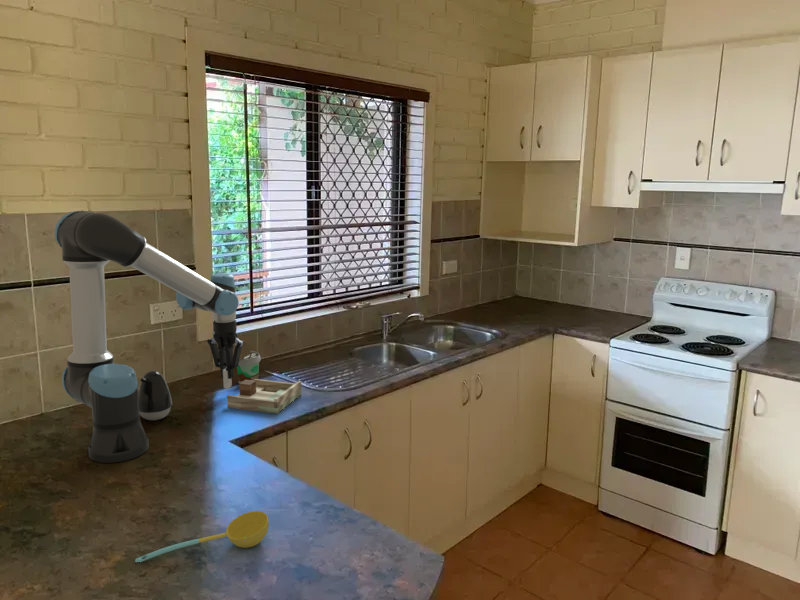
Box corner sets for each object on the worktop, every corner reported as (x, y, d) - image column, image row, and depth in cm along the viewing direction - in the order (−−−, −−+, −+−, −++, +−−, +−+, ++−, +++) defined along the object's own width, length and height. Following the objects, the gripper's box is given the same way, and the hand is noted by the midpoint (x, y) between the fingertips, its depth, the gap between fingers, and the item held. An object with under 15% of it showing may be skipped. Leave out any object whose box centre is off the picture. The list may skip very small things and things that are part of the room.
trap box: (277, 414, 197) (276, 399, 196) (227, 407, 202) (226, 393, 201) (301, 395, 214) (301, 381, 213) (254, 389, 219) (254, 376, 218)
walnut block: (250, 396, 207) (249, 384, 206) (239, 394, 208) (239, 383, 207) (256, 392, 211) (255, 380, 210) (245, 390, 212) (245, 379, 211)
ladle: (276, 547, 127) (268, 524, 125) (142, 597, 120) (132, 573, 118) (270, 522, 135) (264, 500, 133) (145, 568, 128) (136, 545, 127)
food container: (252, 388, 221) (251, 361, 219) (236, 386, 222) (235, 360, 220) (266, 377, 232) (266, 351, 230) (251, 375, 234) (250, 350, 232)
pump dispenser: (130, 422, 190) (126, 374, 187) (151, 409, 200) (147, 364, 197) (159, 425, 188) (156, 377, 184) (179, 412, 197) (176, 367, 194)
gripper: (247, 318, 208) (250, 385, 213) (213, 316, 212) (217, 381, 217) (236, 324, 201) (239, 392, 206) (201, 321, 205) (204, 388, 210)
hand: (227, 387), depth 211 cm, fingers closed
